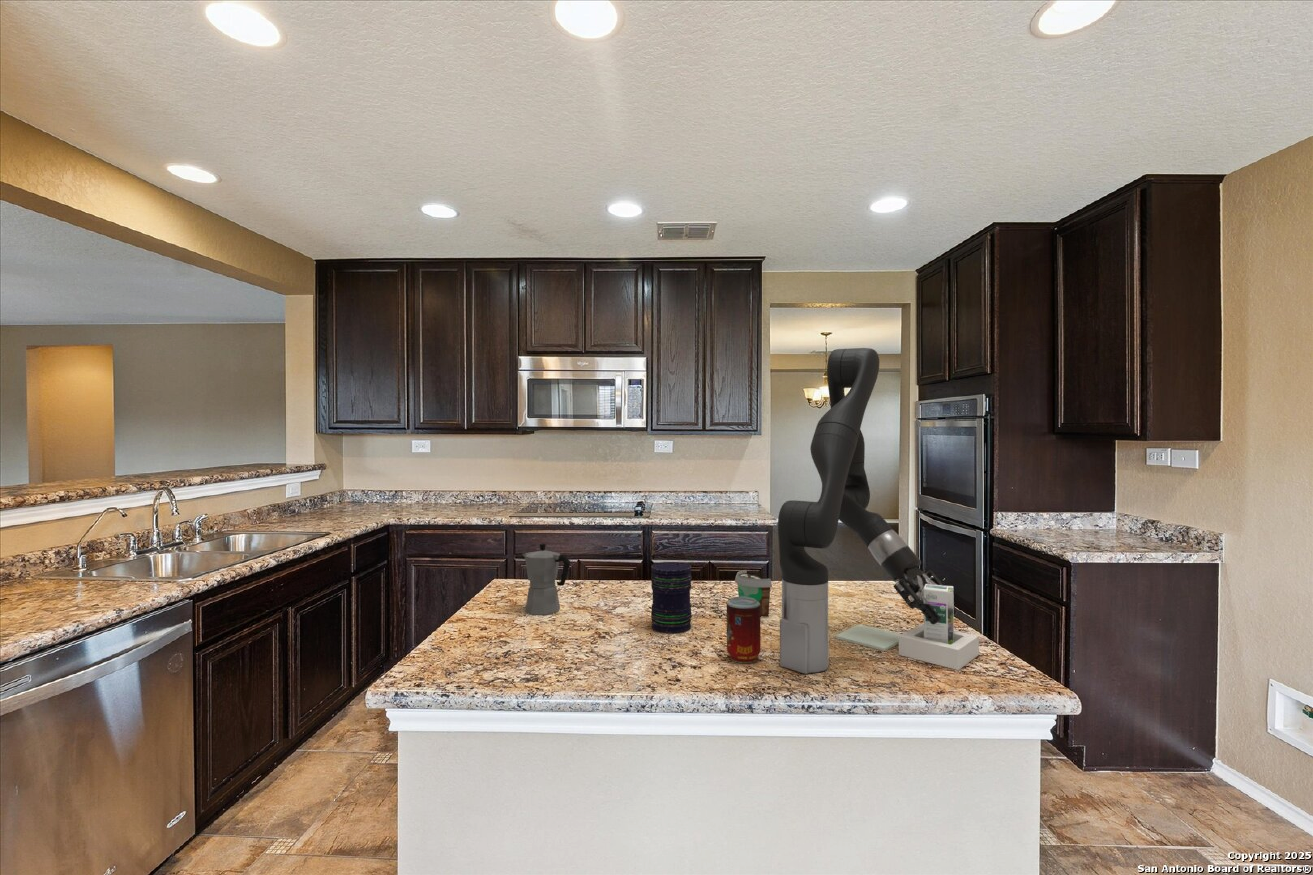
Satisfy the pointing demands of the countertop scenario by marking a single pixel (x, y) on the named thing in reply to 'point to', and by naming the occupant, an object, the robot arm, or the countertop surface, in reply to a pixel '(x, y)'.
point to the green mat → (870, 637)
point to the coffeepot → (544, 580)
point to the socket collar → (939, 648)
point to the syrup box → (940, 613)
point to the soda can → (743, 629)
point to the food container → (754, 589)
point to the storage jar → (671, 597)
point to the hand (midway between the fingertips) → (945, 618)
